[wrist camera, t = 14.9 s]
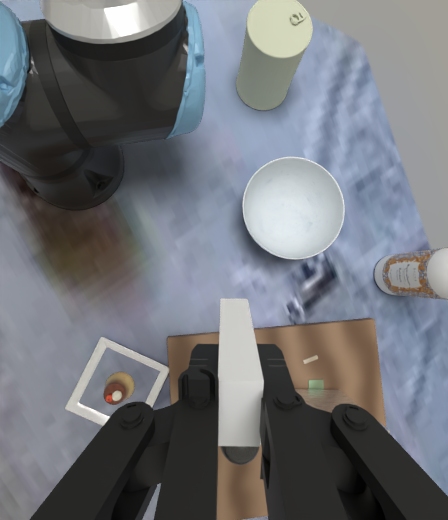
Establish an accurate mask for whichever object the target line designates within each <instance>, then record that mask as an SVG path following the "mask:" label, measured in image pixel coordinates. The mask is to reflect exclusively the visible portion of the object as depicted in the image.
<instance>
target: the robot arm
mask: <svg viewBox="0 0 448 520" xmlns="http://www.w3.org/2000/svg"><path fill="white" fill-rule="evenodd" d="M39 3H40V9H41V11H42V14H43V16H44V18H45V19H40V20H29V21H19V19H18V18H17V17H16V15H15V14H14V13H13V12H12V10H11V9H10V8H8V7H7V6H5V5H4V4H3V3H2V2H0V162H2V163H4V164H6V165H7V166H9V167H11V168H13V169H15V170H16V171H18V172H19V173H20V174H21V176H22V177H23V179H24V180H25V181H26V183H27V184H28V186H29V187H30V188H31V190H32V191H33V192H34V193H36V194H37V195H38V196H39V197H41V198H42V199H44V200H45V201H47V202H49V203H51V204H53V205H55V206H58V207H61V208H64V209H70V210H82V209H88V208H91V207H94V206H97V205H99V204H101V203H102V202H104V201H105V200H107V199H108V198H109V197H110V196H111V195H112V194H113V193H114V192H115V190H116V189H117V187H118V186H119V184H120V182H121V179H122V176H123V171H124V158H123V154H122V150H121V148H120V146H119V145H121V144H128V143H136V142H143V141H151V140H158V139H170V138H171V137H172V136H177V135H181V134H186V133H190V132H192V131H194V130H195V129H196V128H197V127H198V125H199V124H200V122H201V119H202V115H203V110H204V101H205V67H204V64H203V62H204V42H203V34H202V27H201V22H200V18H199V15H198V12H197V9H196V8H195V7H194V6H193V5H192V4H190V3H187V2H186V1H184V2H183V0H40V2H39ZM178 397H179V400H178V401H177V402H175V403H174V404H172V405H170V406H168V407H165V408H162V409H158V410H154V411H153V409H152V407H151V406H150V405H149V404H146V403H144V402H132V403H128V404H125V405H124V406H122V407H120V408H118V409H117V410H116V411H115V412H114V413H113V414H112V415H111V417H110V418H109V419H108V421H107V422H106V423H105V424H104V426H103V427H102V428H101V429H100V431H99V432H98V433H97V435H96V436H95V437H94V438H93V440H92V441H91V442H90V443H89V445H88V446H87V447H86V449H85V450H84V451H83V452H82V454H81V455H80V456H79V457H78V459H77V460H76V461H75V463H74V464H73V465H72V466H71V468H70V469H69V470H68V471H67V473H66V474H65V475H64V477H63V478H62V479H61V480H60V482H59V483H58V484H57V485H56V487H55V488H54V489H53V491H52V492H51V493H50V494H49V496H48V497H47V498H46V499H45V501H44V502H43V503H42V505H41V506H40V507H39V508H38V510H37V511H36V512H35V514H34V515H33V516H32V517H31V519H30V520H142V518H143V516H144V514H145V512H146V509H147V507H148V505H149V503H150V501H151V498H152V496H153V494H154V492H155V489H156V487H157V484H159V483H161V487H160V492H159V497H158V502H157V507H156V511H155V516H154V520H217V486H218V446H253V447H260V439H261V447H262V457H261V472H260V479H263V481H264V488H265V496H266V504H267V512H268V520H448V496H447V495H446V494H445V493H444V492H443V491H442V490H441V489H440V488H439V486H438V485H437V484H436V483H435V482H434V481H433V480H432V479H431V478H430V477H429V476H428V475H427V474H426V472H425V471H424V470H423V469H422V468H421V467H420V466H419V465H418V464H417V463H416V462H415V461H414V459H413V458H412V457H411V456H410V455H409V454H408V453H407V452H406V451H405V450H404V449H403V448H402V447H401V445H400V444H399V443H398V442H397V441H396V440H395V439H394V438H393V437H392V436H391V435H390V434H389V433H388V431H387V430H386V429H385V428H384V427H383V426H382V425H381V424H380V423H379V422H378V421H377V420H376V419H375V417H374V416H373V415H371V414H370V413H369V412H368V411H367V410H365V409H363V408H361V407H359V406H357V405H353V404H349V403H347V404H339V405H337V406H335V407H334V409H333V410H332V413H331V412H327V411H324V410H320V409H317V408H314V407H312V406H310V405H308V404H306V402H305V401H304V399H303V397H302V396H301V395H300V394H299V393H297V392H296V391H295V388H294V385H293V382H292V379H291V376H290V373H289V370H288V367H287V364H286V361H285V358H284V355H283V353H282V350H281V349H280V348H279V347H278V346H277V345H276V344H256V339H255V334H254V329H253V324H252V319H251V314H250V309H249V304H248V299H221V303H220V332H219V344H197V345H196V346H195V347H194V348H193V349H192V351H191V357H190V362H189V367H188V369H187V370H185V371H184V372H182V373H181V374H180V376H179V378H178Z"/></svg>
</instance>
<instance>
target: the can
mask: <svg viewBox="0 0 448 520" xmlns="http://www.w3.org/2000/svg"><path fill="white" fill-rule="evenodd" d="M312 30H313V28H312V21H311V18H310V16H309V14H308V12H307V11H306V9H305V8H304V7H303V6H302V5H301V4H300V3H298V2H297V1H296V0H259V1H258V2H256V3H255V4H254V5H253V7H252V8H251V10H250V11H249V14H248V17H247V23H246V32H245V39H244V45H243V51H242V57H241V63H240V68H239V73H238V76H237V80H236V87H237V92H238V94H239V96H240V98H241V99H242V101H243V102H244V103H245V104H247V105H248V106H250V107H251V108H254V109H257V110H270V109H273V108H275V107H277V106H279V105H280V104H281V103H282V102H283V100H284V99H285V97H286V95H287V91H288V88H289V86H290V83H291V81H292V79H293V76H294V74H295V72H296V70H297V67H298V65H299V63H300V61H301V59H302V56H303V54H304V52H305V50H306V48H307V46H308V44H309V43H310V40H311V37H312Z"/></svg>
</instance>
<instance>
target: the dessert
mask: <svg viewBox="0 0 448 520" xmlns="http://www.w3.org/2000/svg"><path fill="white" fill-rule="evenodd" d="M107 347H108V348H110V349H112V350H114V351H117V352H119V353H121V354H123V355H125V356H128V357H130V358H132V359H134V360H136V361H139V362H141V363H143V364H145V365H147V366H150V367H152V368H154V369H156V370H158V371H160V373H159V375H158V377H157V379H156V381H155V383H154V385H153V388H152V390H151V392H150V394H149V396H148V398H147V400H146V402H145V403H146V404H149V405H150V406H151V407H153V405H154V403H155V401H156V399H157V397H158V394H159V392H160V390H161V388H162V386H163V384H164V382H165V380H166V378H167V376H168V373H169V367H167V366H165V365H163V364H161V363H158V362H156V361H154V360H152V359H150V358H148V357H145V356H143V355H141V354H139V353H137V352H135V351H132V350H130V349H128V348H126V347H124V346H122V345H119V344H117V343H115V342H113V341H111V340H108V339H106V338H104V337H101V338H100V340H99V342H98V344H97V346H96V348H95V350H94V352H93V354H92V356H91V358H90V360H89V362H88V364H87V366H86V368H85V369H84V371H83V373H82V375H81V377H80V379H79V381H78V383H77V385H76V387H75V389H74V391H73V393H72V395H71V397H70V399H69V401H68V403H67V405H66V407H65V410H68V411H70V412H72V413H74V414H77V415H79V416H81V417H83V418H86V419H88V420H90V421H92V422H95V423H97V424H99V425H101V426H104V424H105V423H106V422H107V421H108V419H109V418H110V417H109V416H106V415H104V414H102V413H100V412H98V411H95V410H93V409H91V408H89V407H87V406H84V405H82V404H80V403H79V400H80V398H81V396H82V394H83V392H84V390H85V388H86V386H87V384H88V382H89V381H90V379H91V377H92V375H93V373H94V371H95V369H96V367H97V365H98V363H99V361H100V359H101V357H102V355H103V353H104V351H105V349H106V348H107ZM133 391H134V381H133V379H132V377H131V376H130V375H128V374H127V373H124V372H117V373H114V374H112V375H111V376H110V377H109V378H108V379H107V381H106V384H105V389H104V399H105V401H106V402H107V403H109V404H112V405H115V404H118V403H121V402H123V401H125V400H127V399H128V398H129V397H130V396H131V395H132V394H133Z"/></svg>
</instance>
